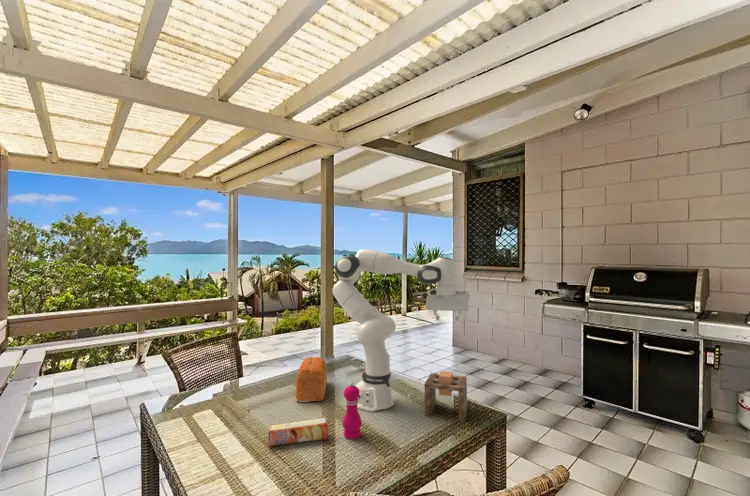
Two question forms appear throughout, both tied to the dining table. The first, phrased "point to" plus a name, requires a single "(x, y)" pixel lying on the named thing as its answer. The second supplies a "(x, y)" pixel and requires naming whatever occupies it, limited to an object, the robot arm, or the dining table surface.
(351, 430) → the pepper mill
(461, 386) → the stand
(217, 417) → the dining table surface
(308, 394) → the bread
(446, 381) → the tall peach block
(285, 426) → the snack package
